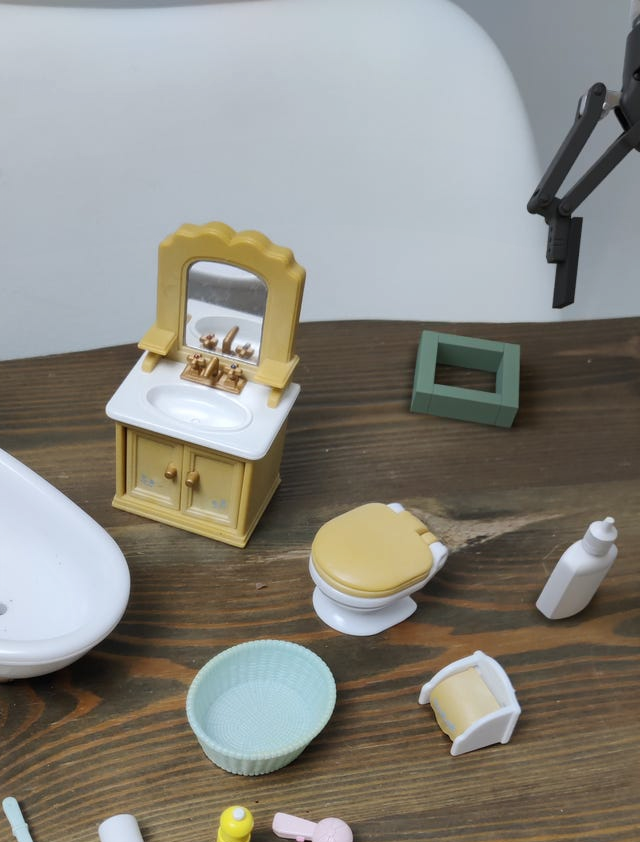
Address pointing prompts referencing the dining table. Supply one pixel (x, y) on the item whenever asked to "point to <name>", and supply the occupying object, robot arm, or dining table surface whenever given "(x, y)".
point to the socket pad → (461, 400)
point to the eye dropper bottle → (579, 572)
